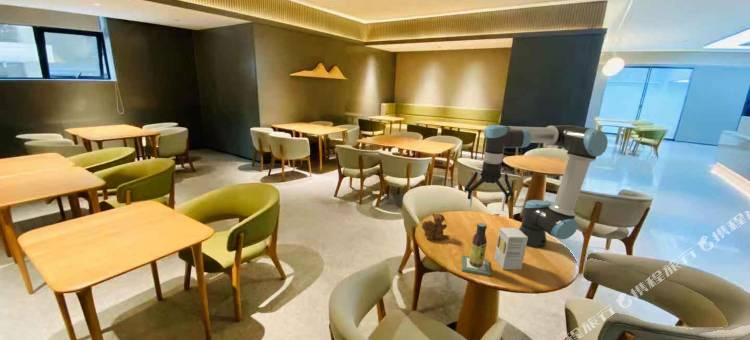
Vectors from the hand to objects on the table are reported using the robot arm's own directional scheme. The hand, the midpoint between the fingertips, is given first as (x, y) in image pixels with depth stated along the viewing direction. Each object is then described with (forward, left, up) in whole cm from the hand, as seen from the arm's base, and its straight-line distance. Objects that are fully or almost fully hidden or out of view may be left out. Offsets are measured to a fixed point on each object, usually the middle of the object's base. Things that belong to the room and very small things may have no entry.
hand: (486, 207), depth 137 cm
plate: (+1, +3, -29) cm, 29 cm away
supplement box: (-14, -4, -29) cm, 32 cm away
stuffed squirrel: (+22, -20, -29) cm, 41 cm away
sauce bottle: (+1, +3, -27) cm, 28 cm away
